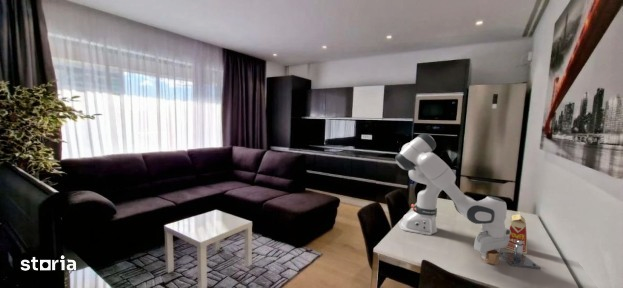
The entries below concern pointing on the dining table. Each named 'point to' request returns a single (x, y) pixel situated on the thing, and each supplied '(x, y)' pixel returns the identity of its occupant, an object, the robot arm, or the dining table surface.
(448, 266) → the dining table surface
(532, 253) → the dining table surface
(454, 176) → the robot arm
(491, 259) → the wooden faceted bowl
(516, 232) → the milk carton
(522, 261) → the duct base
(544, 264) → the dining table surface
